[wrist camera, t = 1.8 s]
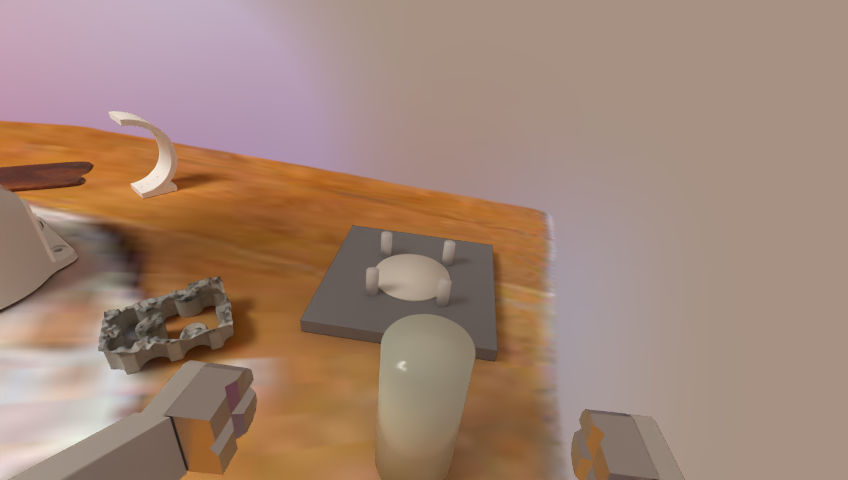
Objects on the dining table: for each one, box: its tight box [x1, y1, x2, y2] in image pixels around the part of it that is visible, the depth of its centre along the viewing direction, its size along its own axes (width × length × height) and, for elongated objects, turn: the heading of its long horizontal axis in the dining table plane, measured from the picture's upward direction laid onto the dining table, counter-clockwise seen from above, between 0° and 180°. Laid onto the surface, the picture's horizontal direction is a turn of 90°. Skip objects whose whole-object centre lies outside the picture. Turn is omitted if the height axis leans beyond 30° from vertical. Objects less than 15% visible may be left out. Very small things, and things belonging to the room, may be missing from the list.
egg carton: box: [98, 276, 234, 375], centre depth 39 cm, size 11×8×4 cm
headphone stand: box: [109, 111, 178, 199], centre depth 62 cm, size 5×6×12 cm
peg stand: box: [300, 225, 497, 361], centre depth 49 cm, size 20×20×4 cm
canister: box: [375, 314, 475, 480], centre depth 29 cm, size 6×6×12 cm
